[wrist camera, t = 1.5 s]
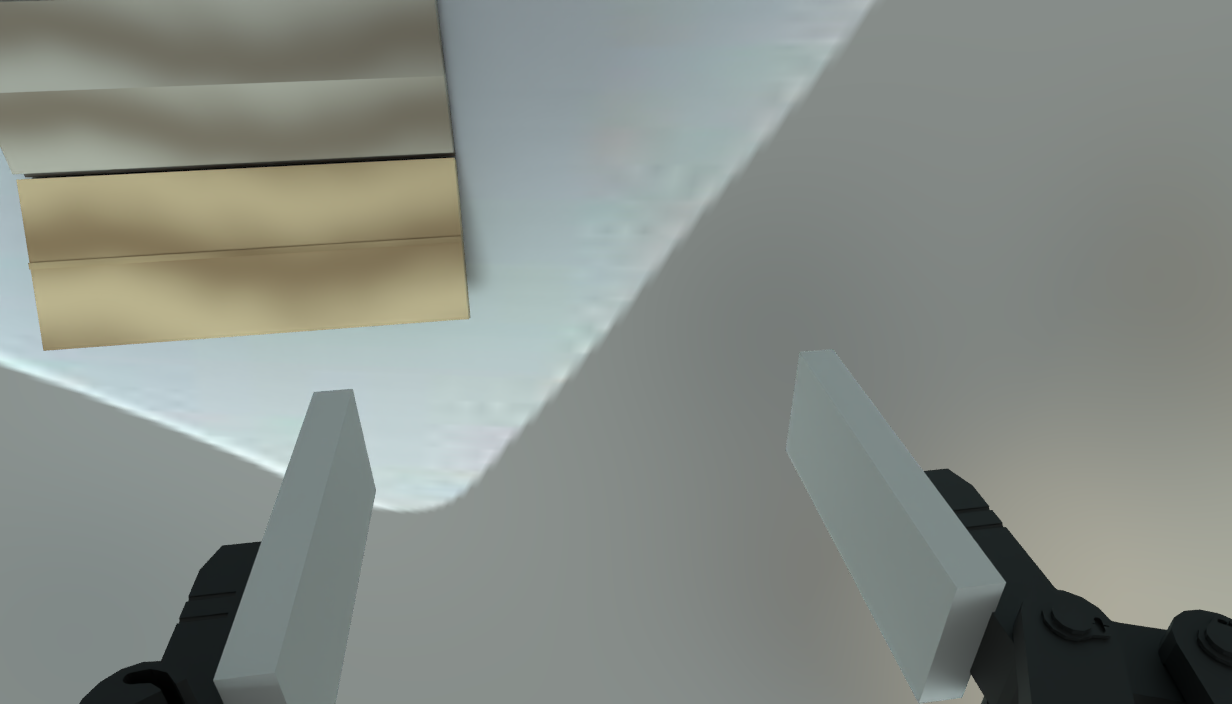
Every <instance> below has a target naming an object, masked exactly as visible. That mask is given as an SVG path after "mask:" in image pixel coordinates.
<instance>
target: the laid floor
mask: <svg viewBox="0 0 1232 704" xmlns="http://www.w3.org/2000/svg"><path fill="white" fill-rule="evenodd" d="M0 147H1V149H2V151H3V154H4V156H5V158H6V161H7V163H8V165H9V167H10V170H11V172H12V174H24V176H25V177H39V176H59V175H79V174H99V173H119V172H139V171H159V170H179V169H199V168H219V167H239V166H258V165H278V164H298V163H318V162H338V161H358V160H378V159H398V158H418V157H438V156H455V147H454V139H453V131H452V122H451V114H450V106H449V98H448V89H447V81H446V73H445V65H444V56H443V48H442V40H441V32H440V23H439V15H438V7H437V0H0Z"/></svg>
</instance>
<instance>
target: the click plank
mask: <svg viewBox="0 0 1232 704" xmlns="http://www.w3.org/2000/svg"><path fill="white" fill-rule="evenodd" d="M17 186H18V192H19V198H20V205H21V211H22V217H23V224H24V230H25V236H26V243H27V249H28V255H29V262H30V263H28V264H29V270H31V274H32V281H33V287H34V293H35V300H36V306H37V312H38V318H39V325H40V331H41V337H42V344H43V350H44V351H46V350H59V349H72V348H86V347H99V346H113V345H126V344H139V343H153V342H166V341H179V340H193V339H206V338H220V337H233V336H246V335H260V334H273V333H287V332H300V331H313V330H327V329H340V328H353V327H367V326H380V325H394V324H407V323H420V322H434V321H447V320H460V319H469V318H470V309H469V297H468V286H467V275H466V264H465V253H464V242H463V231H462V220H461V209H460V198H459V187H458V175H457V164H456V160H455V158H438V159H418V160H398V161H378V162H358V163H339V164H319V165H299V166H279V167H259V168H239V169H220V170H200V171H180V172H160V173H140V174H120V175H100V176H81V177H61V178H41V179H21V180H17Z"/></svg>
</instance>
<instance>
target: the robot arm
mask: <svg viewBox="0 0 1232 704" xmlns="http://www.w3.org/2000/svg"><path fill="white" fill-rule="evenodd" d="M786 452H787V454H788V456H789V458H790V460H791V461H792V463H793V465H794V467H795V469H796V471H797V473H798V475H799V477H800V479H801V480H802V482H803V484H804V486H805V488H806V490H807V492H808V494H809V496H810V497H811V499H812V501H813V503H814V505H815V507H816V509H817V511H818V513H819V515H820V517H821V519H822V520H823V522H824V524H825V526H826V528H827V530H828V532H829V534H830V536H831V538H832V540H833V541H834V543H835V545H836V547H837V549H838V551H839V553H840V555H841V557H842V558H843V560H844V562H845V564H846V566H847V568H848V570H849V571H850V574H851V576H852V577H853V580H854V581H855V583H856V585H857V587H858V589H859V591H860V593H861V595H862V597H863V599H864V601H865V602H866V604H867V606H868V608H869V610H870V612H871V614H872V616H873V618H874V620H875V621H876V623H877V625H878V627H879V629H880V631H881V633H882V635H883V637H884V639H885V640H886V642H887V644H888V646H889V648H890V650H891V651H892V654H893V656H894V657H895V659H896V661H897V663H898V665H899V667H900V669H901V671H902V673H903V675H904V677H905V679H906V681H907V682H908V684H909V686H910V688H911V690H912V692H913V694H914V696H915V698H916V699H917V701H918V703H927V702H934V701H941V700H948V699H955V698H962V697H963V694H964V691H965V689H966V686H967V683H968V681H969V678H970V676H971V675H972V676H973V678H974V680H975V682H976V683H977V685H978V686H979V688H980V690H981V691H982V693H983V695H984V698H983V701H982V703H981V704H1232V619H1230V618H1228V617H1226V616H1224V615H1221V614H1218V613H1214V612H1209V611H1204V610H1190V611H1183V612H1182V613H1180V614H1179V615H1177V616H1176V617H1174V619H1173V620H1172V622H1171V624H1170V626H1169V627H1168V629H1167V630H1163V629H1157V628H1150V627H1144V626H1137V625H1131V624H1124V623H1118V622H1114V621H1111V620H1110V619H1109V618H1108V617H1107V616H1106V615H1105V614H1104V613H1103V612H1102V611H1101V610H1100V609H1099V608H1098V607H1096V606H1095V605H1093V604H1091V603H1090V602H1088V601H1087V600H1085V599H1084V598H1082V597H1080V596H1077V595H1074V594H1071V593H1069V592H1066V591H1063V590H1057V589H1056V588H1055V587H1054V586H1053V585H1052V584H1051V582H1050V581H1049V580H1048V579H1047V577H1046V576H1045V575H1044V574H1043V572H1042V571H1041V570H1040V569H1039V568H1038V566H1037V565H1036V564H1035V563H1034V562H1033V560H1032V559H1031V558H1030V557H1029V555H1028V554H1027V553H1026V551H1025V550H1024V549H1023V548H1022V546H1021V545H1020V544H1019V543H1018V541H1017V540H1016V539H1015V538H1014V537H1013V535H1012V534H1011V533H1010V532H1009V530H1008V529H1007V528H1006V527H1003V525H1002V522H1001V520H1000V519H999V518H998V517H997V515H996V514H995V513H994V512H993V510H989V506H988V504H987V503H986V502H985V501H984V499H983V498H982V497H981V496H980V494H979V493H978V492H977V491H976V489H975V488H974V487H973V486H972V485H971V484H969V483H968V482H966V481H965V480H964V479H962V478H961V477H959V476H958V475H956V474H955V473H953V472H952V471H950V470H949V469H940V470H930V471H923V470H922V469H921V467H920V466H919V465H918V463H917V462H916V460H915V459H914V458H913V456H912V455H911V454H910V452H909V451H908V450H907V448H906V447H905V446H904V444H903V443H902V442H901V440H900V439H899V438H898V436H897V435H896V434H895V432H894V431H893V429H892V428H891V427H890V426H889V424H888V423H887V421H886V420H885V419H884V417H883V416H882V415H881V413H880V412H879V411H878V409H877V408H876V407H875V405H874V404H873V402H872V401H871V400H870V398H869V397H868V396H867V395H866V393H865V392H864V390H863V389H862V388H861V386H860V385H859V384H858V382H857V381H856V380H855V378H854V377H853V376H852V374H851V373H850V371H849V370H848V369H847V368H846V366H845V365H844V363H843V362H842V361H841V359H840V358H839V357H838V356H837V354H836V353H835V351H834V350H833V349H830V350H818V351H805V352H800V353H799V360H798V367H797V374H796V381H795V388H794V395H793V402H792V410H791V417H790V423H789V430H788V438H787V444H786ZM375 493H376V489H375V484H374V480H373V476H372V471H371V467H370V463H369V458H368V454H367V450H366V445H365V441H364V437H363V432H362V428H361V423H360V419H359V415H358V410H357V406H356V402H355V397H354V393H353V389H345V390H333V391H321V392H314V393H313V396H312V399H311V402H310V404H309V407H308V410H307V413H306V416H305V419H304V422H303V424H302V427H301V430H300V433H299V436H298V439H297V442H296V445H295V447H294V450H293V453H292V456H291V459H290V462H289V465H288V467H287V470H286V473H285V476H284V479H283V482H282V485H281V488H280V490H279V493H278V496H277V499H276V502H275V505H274V507H273V510H272V513H271V516H270V519H269V522H268V525H267V528H266V530H265V533H264V536H263V539H262V542H253V543H243V544H233V545H224V546H222V547H221V548H220V549H219V550H218V551H217V552H216V553H215V554H214V555H213V556H212V557H211V558H210V560H209V561H208V562H207V563H206V564H205V565H204V566H203V567H202V568H201V569H200V571H199V573H198V575H197V578H196V580H195V582H194V585H193V587H192V589H191V592H190V594H189V601H188V602H186V603H185V606H184V608H183V611H182V613H181V615H180V618H179V619H180V622H179V624H177V625H176V627H175V630H174V632H173V634H172V637H171V639H170V641H169V644H168V646H167V648H166V650H165V653H164V655H163V657H162V660H161V661H156V662H142V663H139V664H136V665H133V666H130V667H127V668H124V669H121V670H119V671H118V672H116V673H114V674H113V675H111V676H109V677H108V678H106V679H104V680H103V681H101V682H100V683H99V684H98V685H97V686H95V687H94V688H93V689H92V690H91V691H90V692H89V693H88V694H87V695H86V696H85V697H84V698H83V699H82V700H81V702H80V704H336V698H337V693H338V688H339V682H340V677H341V672H342V666H343V661H344V655H345V651H346V646H347V640H348V635H349V630H350V625H351V619H352V614H353V609H354V603H355V598H356V593H357V587H358V582H359V577H360V572H361V566H362V561H363V556H364V550H365V545H366V540H367V534H368V529H369V524H370V519H371V513H372V508H373V503H374V498H375Z"/></svg>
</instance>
